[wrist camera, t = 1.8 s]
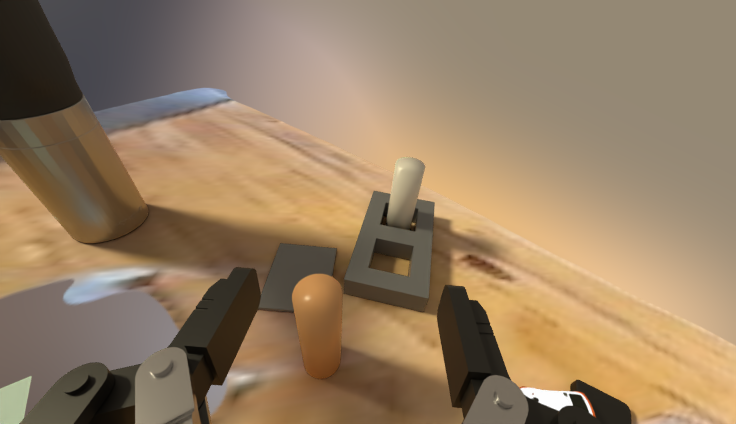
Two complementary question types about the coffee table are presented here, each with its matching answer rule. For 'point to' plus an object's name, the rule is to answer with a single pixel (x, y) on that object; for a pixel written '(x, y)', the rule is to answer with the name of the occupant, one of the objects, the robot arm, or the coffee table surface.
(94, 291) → the coffee table surface
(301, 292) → the peg
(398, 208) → the housing
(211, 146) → the coffee table surface
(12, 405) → the right angle wall
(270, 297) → the lid plate
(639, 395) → the coffee table surface
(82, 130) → the robot arm
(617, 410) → the multimeter
